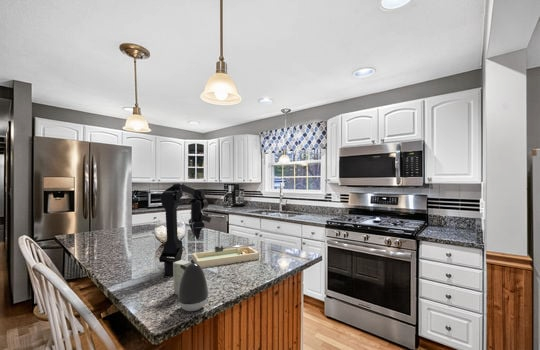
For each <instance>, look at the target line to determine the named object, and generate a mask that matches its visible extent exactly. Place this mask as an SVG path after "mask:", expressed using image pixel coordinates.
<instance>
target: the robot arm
mask: <svg viewBox="0 0 540 350" xmlns="http://www.w3.org/2000/svg"><path fill="white" fill-rule="evenodd" d="M184 195H186V196H187V197H188V198H189V199H190V200H189V203H188V204H190V218H189V219H188V225H189V227H190V231H191V232H192V234H193V236H194V237H195V239H196V240H199V238H200V234H201V231H202V230H203V229H204V228H205V222H207V223H211V221H212V217H211V216H209V214H207V213H204V214H203V212H202V210H205V209H207V208H208V207H209V202H208V200H207V199H206V196H205V193H204V191H203V189H202V188H193V187H190V186H189V185H186V184H184V183H183V182H182V183H174V184H173V185H171V186H169V187H168V188H166V189H165V190H164V191H162V193H161V194H160V202H161V206H162V207H163V209H164V210H165V229H166V230H165V231H166V241H165V243H164V244H163V247H162V249H163V250H162V251H161V254H160V255H159V257H158V260H159V263H163V271H162V277H163V278H167V277H169V278H170V277H173V262H176V261H179V260H182V257H183V256H182V255H183V249H184V247H183V240H182V239H179V238H178V237H179V235H178V211H177V209H178V206H179V205H180V204H181V203H180V201H181V199H182V198H183V196H184ZM203 221H204V222H203Z"/></svg>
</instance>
